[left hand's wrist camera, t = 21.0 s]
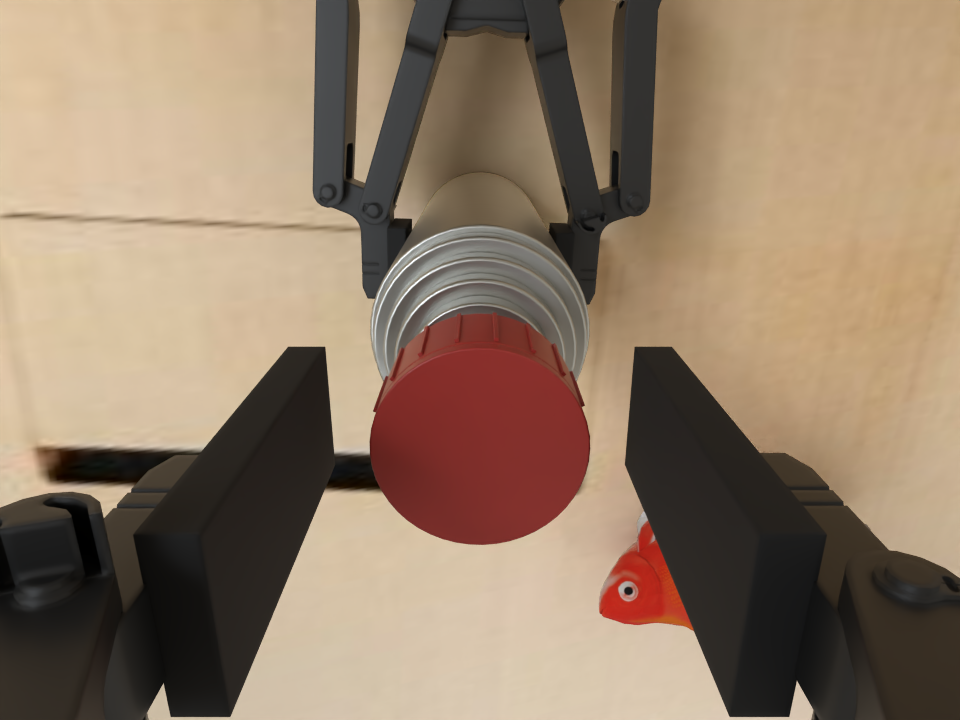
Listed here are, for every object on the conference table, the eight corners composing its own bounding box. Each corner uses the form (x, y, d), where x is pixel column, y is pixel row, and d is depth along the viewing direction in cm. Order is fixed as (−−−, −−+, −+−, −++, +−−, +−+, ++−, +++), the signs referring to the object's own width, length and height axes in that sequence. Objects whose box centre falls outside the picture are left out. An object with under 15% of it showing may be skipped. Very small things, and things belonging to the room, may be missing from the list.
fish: (611, 440, 34) (732, 622, 27) (822, 411, 41) (960, 551, 34) (546, 561, 40) (631, 731, 34) (737, 519, 47) (839, 654, 41)
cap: (575, 484, 15) (590, 544, 13) (390, 489, 15) (376, 550, 13) (578, 307, 14) (596, 342, 11) (375, 313, 14) (355, 349, 12)
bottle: (503, 149, 34) (548, 214, 11) (559, 255, 35) (691, 488, 13) (399, 210, 35) (255, 378, 12) (458, 309, 36) (424, 611, 14)
